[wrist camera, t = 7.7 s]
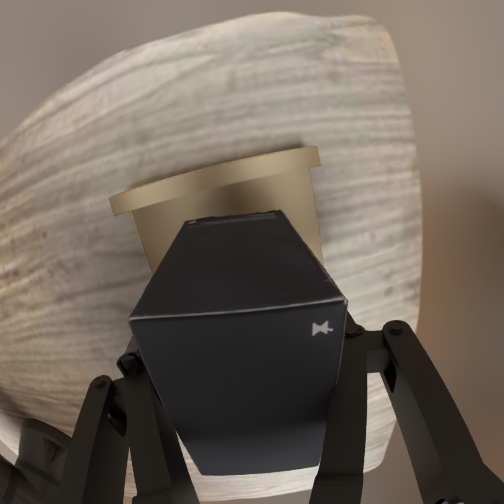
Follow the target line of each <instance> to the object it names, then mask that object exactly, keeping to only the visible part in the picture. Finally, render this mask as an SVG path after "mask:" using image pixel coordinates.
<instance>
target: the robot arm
mask: <svg viewBox="0 0 504 504" xmlns="http://www.w3.org/2000/svg"><path fill="white" fill-rule="evenodd" d="M344 335H345V336H344V341H343V349H342V357H341V363H340V369H339V375H338V382H337V384H336V386H335V387H333V388H332V389H331V397H330V405H329V412H328V419H327V426H326V432H325V438H324V444H323V449H322V455H321V460H320V465H319V470H318V474H317V475H316V477H315V480H314V484H313V488H312V493H311V497H310V501H309V504H360V502H361V495H362V487H363V467H364V456H365V442H366V424H367V373H376V372H380V375H381V377H382V380H383V382H384V385H385V388H386V390H387V393H388V395H389V398H390V401H391V404H392V406H393V409H394V412H395V415H396V417H397V420H398V423H399V426H400V429H401V432H402V434H403V438H404V441H405V444H406V447H407V450H408V453H409V456H410V459H411V462H412V466H413V469H414V473H415V476H416V480H417V483H418V487H419V491H420V494H421V497H422V499H423V503H424V504H504V483H503V482H502V481H501V480H500V479H499V478H498V477H497V476H496V475H495V474H494V473H493V472H492V471H491V470H490V469H489V468H488V467H487V466H486V465H485V464H484V463H483V461H482V459H481V457H480V454H479V452H478V450H477V448H476V446H475V443H474V441H473V439H472V436H471V435H470V432H469V430H468V428H467V426H466V424H465V422H464V420H463V418H462V416H461V414H460V412H459V410H458V408H457V406H456V404H455V402H454V400H453V399H452V397H451V395H450V393H449V391H448V389H447V388H446V386H445V384H444V382H443V380H442V379H441V377H440V375H439V373H438V372H437V370H436V368H435V366H434V365H433V363H432V361H431V360H430V358H429V356H428V355H427V353H426V351H425V350H424V348H423V347H422V345H421V343H420V342H419V340H418V339H417V337H416V335H415V334H414V332H413V331H412V329H411V327H410V326H409V325H408V324H407V323H406V322H404V321H401V320H392V321H389V322H387V323H386V324H385V325H384V326H383V329H382V330H379V331H367V330H365V329H364V328H363V327H362V326H361V325H358V324H356V323H355V322H354V320H353V318H352V317H351V315H350V314H349V312H348V310H347V316H346V324H345V332H344ZM116 364H117V366H118V368H119V369H120V371H121V372H122V374H123V375H124V377H123V378H120V379H117V380H114V381H112V380H111V378H110V377H109V376H107V375H102V376H99V377H97V378H95V379H94V380H93V381H92V382H91V384H90V386H89V389H88V392H87V394H86V397H85V400H84V403H83V406H82V408H81V411H80V414H79V417H78V420H77V423H76V427H75V430H74V433H73V436H72V439H71V438H69V437H68V436H66V435H64V434H63V433H61V432H59V431H58V430H56V429H54V428H52V427H50V426H48V425H46V424H44V423H42V422H39V421H37V420H33V419H27V420H25V422H24V424H23V426H22V428H21V435H20V443H19V455H18V458H17V460H16V463H15V465H13V464H12V463H10V462H9V461H8V460H7V459H5V458H4V457H3V456H2V455H1V454H0V504H123V497H124V487H125V477H126V468H127V460H128V452H129V446H130V453H131V460H132V466H133V472H134V478H135V483H136V488H137V496H134V497H133V499H132V504H200V502H199V500H198V497H197V494H196V492H195V489H194V486H193V484H192V481H191V478H190V475H189V472H188V469H187V466H186V463H185V460H184V457H183V454H182V451H181V448H180V444H179V441H178V438H177V434H176V431H175V427H174V425H173V424H172V422H171V420H170V418H169V416H168V414H167V412H166V410H165V408H164V406H163V404H162V402H161V400H160V397H159V395H158V393H157V391H156V389H155V387H154V384H153V382H152V380H151V378H150V376H149V373H148V371H147V369H146V366H145V364H144V362H143V359H142V357H141V354H139V353H138V352H133V351H132V352H128V353H125V354H123V355H122V356H121V357H120V358H119V359H118V360H117V363H116ZM108 414H109V417H108Z"/></svg>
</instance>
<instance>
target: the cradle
mask: <svg viewBox="0 0 504 504" xmlns="http://www.w3.org/2000/svg"><path fill="white" fill-rule="evenodd" d="M317 166H321V165H320V159H319V154H318V148H317V146H311V147H299V148H294V149H288V150H282V151H277V152H272V153H267V154H262V155H257V156H252V157H247V158H243V159H238V160H234V161H229V162H225V163H221V164H217V165H213V166H209V167H205V168H201V169H197V170H193V171H189V172H186V173H182V174H179V175H175V176H171V177H168V178H165V179H161V180H158V181H155V182H151V183H148V184H145V185H142V186H138V187H135V188H132V189H129V190H127V191H124V192H122V193H119V194H117V195H115V196H112V197H110V198H109V200H110V203H111V207H112V210H113V213H114V216H116V215H119V214H122V213H125V212H128V211H132V212H133V216H134V219H135V222H136V225H137V229H138V232H139V235H140V238H141V241H142V244H143V247H144V250H145V253H146V256H147V258H148V261H149V264H150V267H151V270H152V272H153V275H154V273H155V271H156V270H157V268H158V266H159V264H160V263H161V261H162V259H163V258H164V256H165V254H166V252H167V251H168V249H169V247H170V246H171V244H172V242H173V241H174V239H175V237H176V236H177V234H178V232H179V231H180V229H181V227H182V226H183V224H184V222H185V221H187V220H195V219H199V218H205V217H210V216H215V217H219V216H227V215H231V216H232V215H240V214H250V213H256V212H261V213H263V212H267V211H271V210H279V209H280V210H281V211H283V212H284V213H285V215H286V216H287V218H288V219H289V221H290V223H291V224H292V226H293V227H294V228H295V229H296V231H297V232H298V234H299V235H300V237H301V238H302V239H303V241H304V242H305V243H306V244H307V245H308V247H309V248H310V249H311V250H312V252H313V254H314V255H315V256H316V257H317V259H318V260H319V261H320V263H321V264H322V266H323V257H322V250H321V242H320V235H319V228H318V221H317V214H316V208H315V202H314V196H313V190H312V184H311V178H310V173H309V168H311V167H317ZM323 267H324V266H323ZM132 351H133V352H138V353H139V354H140V351H139V349H138V346H137V344H136V341H135V338H134V337H132V339H131V341H130V343H129V345H128V347H127V349H126V352H125V353H128V352H132Z"/></svg>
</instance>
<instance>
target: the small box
mask: <svg viewBox="0 0 504 504" xmlns="http://www.w3.org/2000/svg"><path fill="white" fill-rule="evenodd" d="M347 307H348V300H347V299H346V298H345V296H344V295H343V294H342V293H341V291H340V290H339V288H338V287H337V285H336V284H335V282H334V281H333V279H332V278H331V277H330V275H329V274H328V273H327V271H326V269H325V268H324V267H323V266H322V264H321V263H320V261H319V260H318V259H317V257H316V256H315V255H314V254H313V252H312V250H311V249H310V248H309V247H308V245H307V244H306V243H305V242H304V241H303V239H302V238H301V237H300V235H299V234H298V232H297V231H296V229H295V228H294V227H293V226H292V224H291V223H290V221H289V219H288V218H287V216H286V215H285V213H284V212H283V211H281V210H280V209H279V210H271V211H267V212H263V213H261V212H256V213H250V214H240V215H232V216H231V215H227V216H219V217H215V216H210V217H205V218H199V219H195V220H187V221H185V222H184V224H183V226H182V227H181V229H180V231H179V232H178V234H177V236H176V237H175V239H174V241H173V242H172V244H171V246H170V247H169V249H168V251H167V252H166V254H165V256H164V258H163V259H162V261H161V263H160V264H159V266H158V268H157V270H156V271H155V273H154V275H153V277H152V278H151V280H150V282H149V284H148V285H147V287H146V289H145V291H144V293H143V295H142V297H141V299H140V300H139V302H138V304H137V306H136V307H135V309H134V310H133V312H132V313H131V315H130V317H129V318H128V320H129V325H130V328H131V330H132V333H133V336H134V338H135V341H136V344H137V346H138V349H139V351H140V354H141V357H142V359H143V362H144V364H145V366H146V369H147V371H148V373H149V376H150V378H151V380H152V382H153V384H154V387H155V389H156V391H157V393H158V395H159V397H160V400H161V402H162V404H163V406H164V408H165V410H166V412H167V414H168V416H169V418H170V420H171V422H172V424H173V425H174V427H175V429H176V431H177V433H178V435H179V437H180V439H181V441H182V442H183V444H184V446H185V448H186V450H187V451H188V453H189V455H190V457H191V458H192V460H193V462H194V463H195V465H196V467H197V468H198V470H199V472H200V473H201V475H213V476H224V475H246V474H260V473H271V472H281V471H290V470H296V469H303V468H309V467H315V466H318V465H319V463H320V459H321V455H322V449H323V444H324V438H325V432H326V426H327V419H328V412H329V405H330V397H331V389H332V388H333V387H335V386H336V384H337V382H338V375H339V369H340V363H341V357H342V349H343V341H344V336H345V335H344V332H345V324H346V316H347Z"/></svg>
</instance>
